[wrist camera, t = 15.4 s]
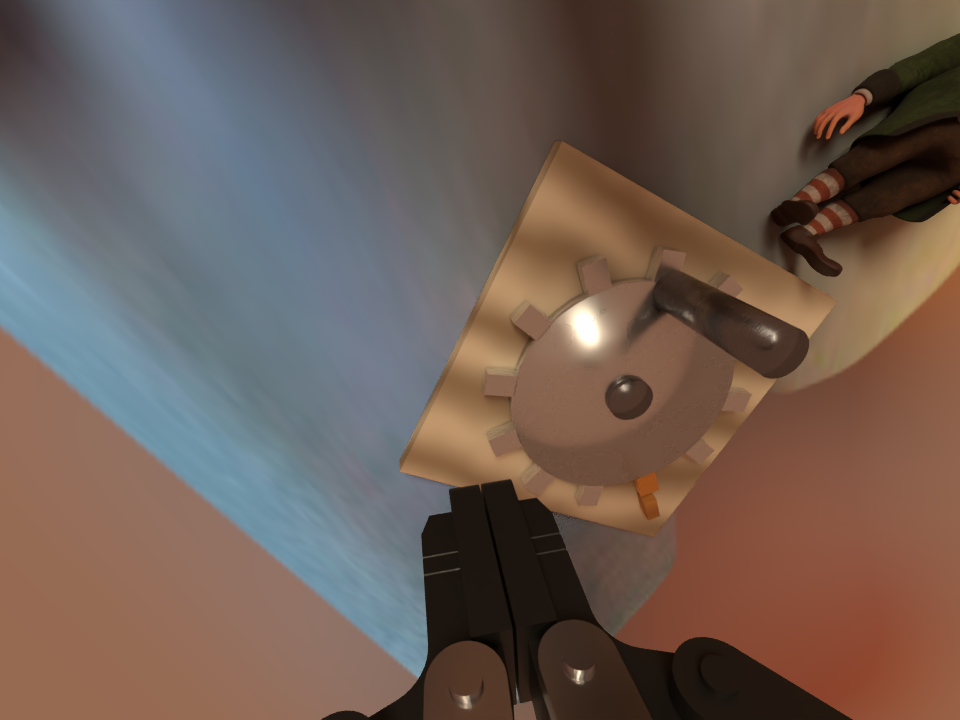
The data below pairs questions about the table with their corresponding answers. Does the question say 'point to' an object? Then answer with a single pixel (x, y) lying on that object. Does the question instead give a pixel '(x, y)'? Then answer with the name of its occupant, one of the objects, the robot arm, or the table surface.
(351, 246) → the table surface
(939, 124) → the leprechaun
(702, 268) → the base board
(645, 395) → the sprocket
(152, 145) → the table surface
